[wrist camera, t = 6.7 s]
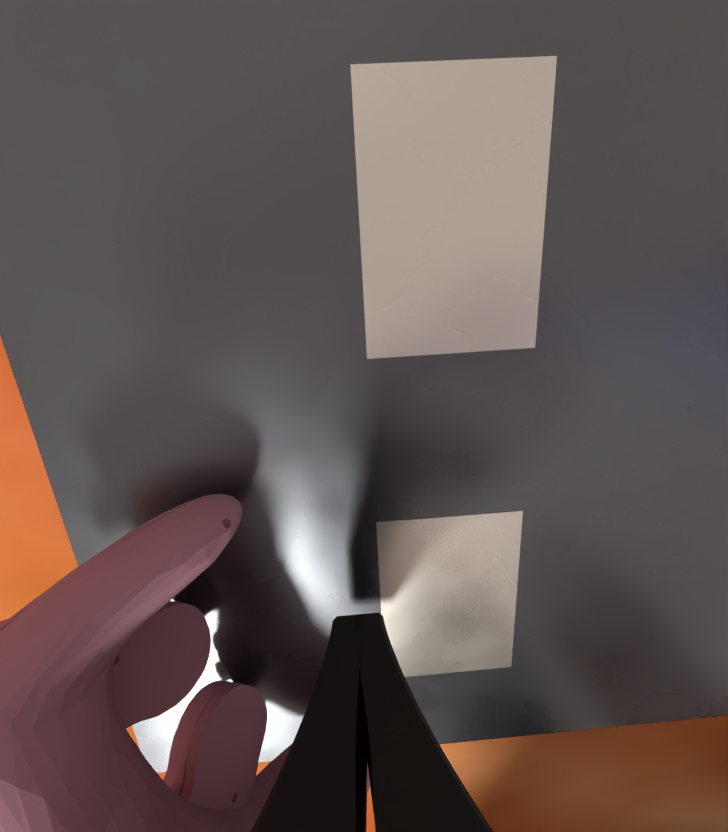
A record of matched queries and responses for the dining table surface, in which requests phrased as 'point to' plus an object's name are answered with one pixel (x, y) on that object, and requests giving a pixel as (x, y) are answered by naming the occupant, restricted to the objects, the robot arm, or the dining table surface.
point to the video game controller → (129, 693)
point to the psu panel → (390, 333)
